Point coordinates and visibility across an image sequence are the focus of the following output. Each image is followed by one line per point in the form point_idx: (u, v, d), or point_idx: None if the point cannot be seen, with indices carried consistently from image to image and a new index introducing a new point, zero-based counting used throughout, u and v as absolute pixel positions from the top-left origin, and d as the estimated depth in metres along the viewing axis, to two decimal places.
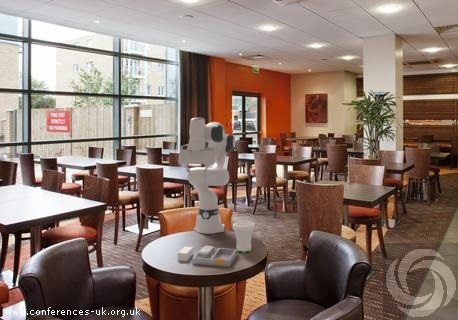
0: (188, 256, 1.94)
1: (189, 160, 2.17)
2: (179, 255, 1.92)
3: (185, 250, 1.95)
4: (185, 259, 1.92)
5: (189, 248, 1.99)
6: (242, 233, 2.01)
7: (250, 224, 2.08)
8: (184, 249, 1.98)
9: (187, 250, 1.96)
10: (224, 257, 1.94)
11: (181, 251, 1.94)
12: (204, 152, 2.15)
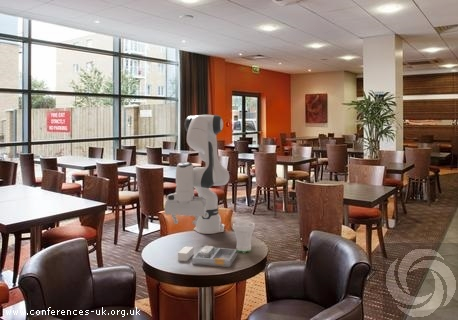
0: (188, 256, 1.94)
1: (177, 211, 1.94)
2: (179, 255, 1.92)
3: (185, 250, 1.95)
4: (185, 259, 1.92)
5: (189, 248, 1.99)
6: (242, 233, 2.01)
7: (250, 224, 2.08)
8: (184, 249, 1.98)
9: (187, 250, 1.96)
10: (224, 257, 1.94)
11: (181, 251, 1.94)
12: (193, 203, 1.91)
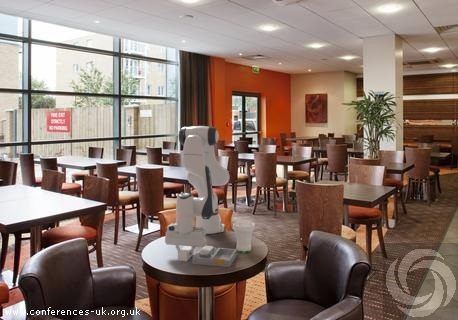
0: (188, 255, 1.94)
1: (177, 241, 1.95)
2: (179, 254, 1.92)
3: (185, 250, 1.95)
4: (185, 258, 1.92)
5: (189, 247, 1.99)
6: (242, 233, 2.01)
7: (250, 224, 2.08)
8: (184, 248, 1.98)
9: (187, 249, 1.96)
10: (224, 257, 1.94)
11: (181, 250, 1.94)
12: (193, 233, 1.93)
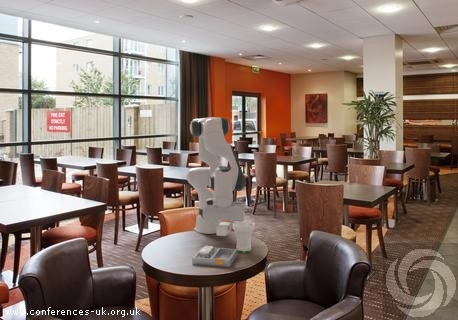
0: (227, 230, 1.89)
1: (215, 216, 1.90)
2: (218, 229, 1.87)
3: (223, 225, 1.90)
4: (224, 233, 1.86)
5: (227, 223, 1.94)
6: (242, 233, 2.01)
7: (250, 224, 2.08)
8: (222, 223, 1.93)
9: (225, 225, 1.91)
10: (224, 257, 1.94)
11: (219, 225, 1.89)
12: (232, 208, 1.88)
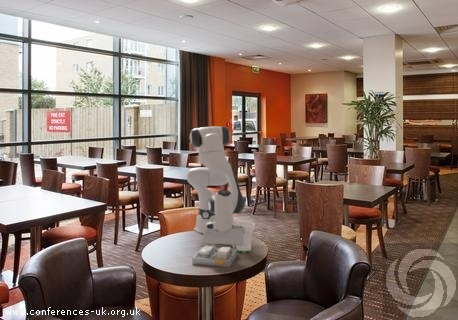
0: (227, 256, 1.90)
1: (216, 240, 1.91)
2: (218, 255, 1.88)
3: (223, 251, 1.92)
4: None
5: (227, 248, 1.95)
6: None
7: (250, 224, 2.08)
8: (222, 249, 1.94)
9: (225, 250, 1.92)
10: None
11: (220, 251, 1.90)
12: (232, 232, 1.89)
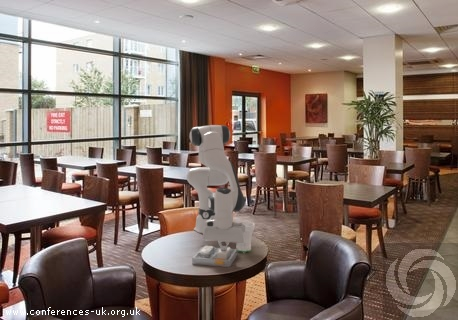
0: (227, 256, 1.90)
1: (215, 237, 1.91)
2: (218, 255, 1.88)
3: (223, 251, 1.92)
4: None
5: (227, 248, 1.95)
6: None
7: (250, 224, 2.08)
8: None
9: None
10: None
11: (220, 251, 1.90)
12: (232, 229, 1.89)
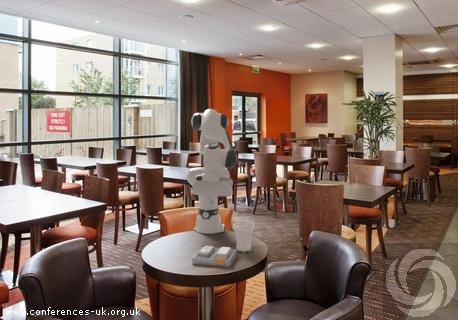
0: (227, 256, 1.90)
1: (204, 191, 1.99)
2: (218, 255, 1.88)
3: (223, 251, 1.92)
4: None
5: (227, 248, 1.95)
6: (242, 233, 2.01)
7: (250, 224, 2.08)
8: (222, 249, 1.94)
9: (225, 250, 1.92)
10: None
11: (220, 251, 1.90)
12: (220, 183, 1.96)
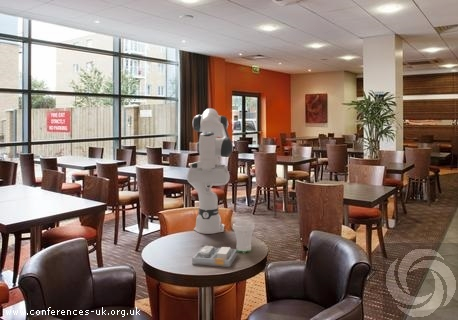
0: (227, 256, 1.90)
1: (200, 179, 2.02)
2: (218, 255, 1.88)
3: (223, 251, 1.92)
4: None
5: (227, 248, 1.95)
6: (242, 233, 2.01)
7: (250, 224, 2.08)
8: (222, 249, 1.94)
9: (225, 250, 1.92)
10: None
11: (220, 251, 1.90)
12: (215, 170, 2.00)
